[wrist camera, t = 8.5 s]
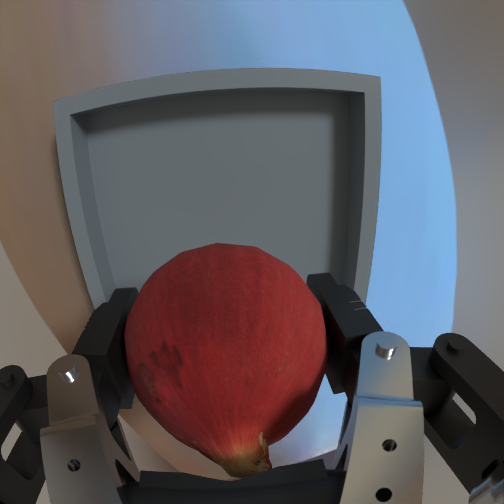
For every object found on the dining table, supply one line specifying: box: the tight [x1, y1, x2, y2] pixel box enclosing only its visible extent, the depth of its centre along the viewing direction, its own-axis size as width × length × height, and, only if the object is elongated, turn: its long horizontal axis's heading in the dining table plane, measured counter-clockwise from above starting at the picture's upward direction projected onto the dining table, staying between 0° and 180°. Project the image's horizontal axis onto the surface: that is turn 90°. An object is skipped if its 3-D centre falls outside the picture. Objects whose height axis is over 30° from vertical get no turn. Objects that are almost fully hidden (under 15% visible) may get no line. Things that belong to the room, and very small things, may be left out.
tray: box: [53, 68, 382, 309], centre depth 17 cm, size 17×17×3 cm
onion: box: [124, 243, 329, 478], centre depth 8 cm, size 6×6×8 cm
